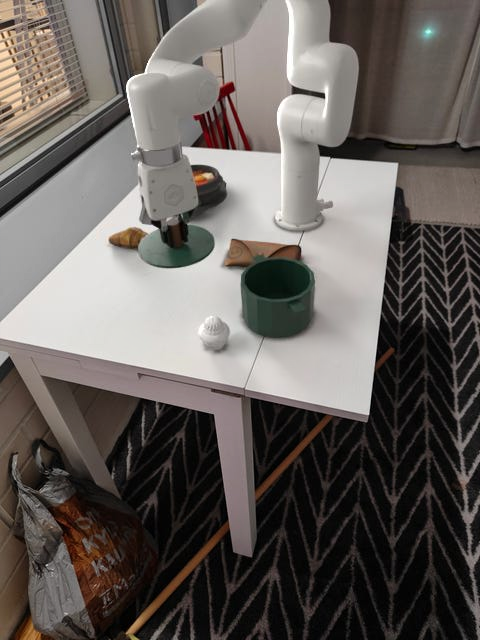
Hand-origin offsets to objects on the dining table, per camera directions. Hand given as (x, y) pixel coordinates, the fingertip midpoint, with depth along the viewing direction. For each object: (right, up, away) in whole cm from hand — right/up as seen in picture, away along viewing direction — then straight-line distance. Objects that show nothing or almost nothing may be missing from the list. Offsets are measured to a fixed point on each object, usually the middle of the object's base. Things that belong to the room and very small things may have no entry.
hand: (176, 241), depth 94 cm
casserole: (0, +19, +43) cm, 47 cm away
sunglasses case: (+18, -2, +19) cm, 26 cm away
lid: (0, -1, +1) cm, 1 cm away
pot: (+21, -15, +4) cm, 26 cm away
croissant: (-15, +4, +28) cm, 31 cm away
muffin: (+8, -21, -2) cm, 23 cm away
